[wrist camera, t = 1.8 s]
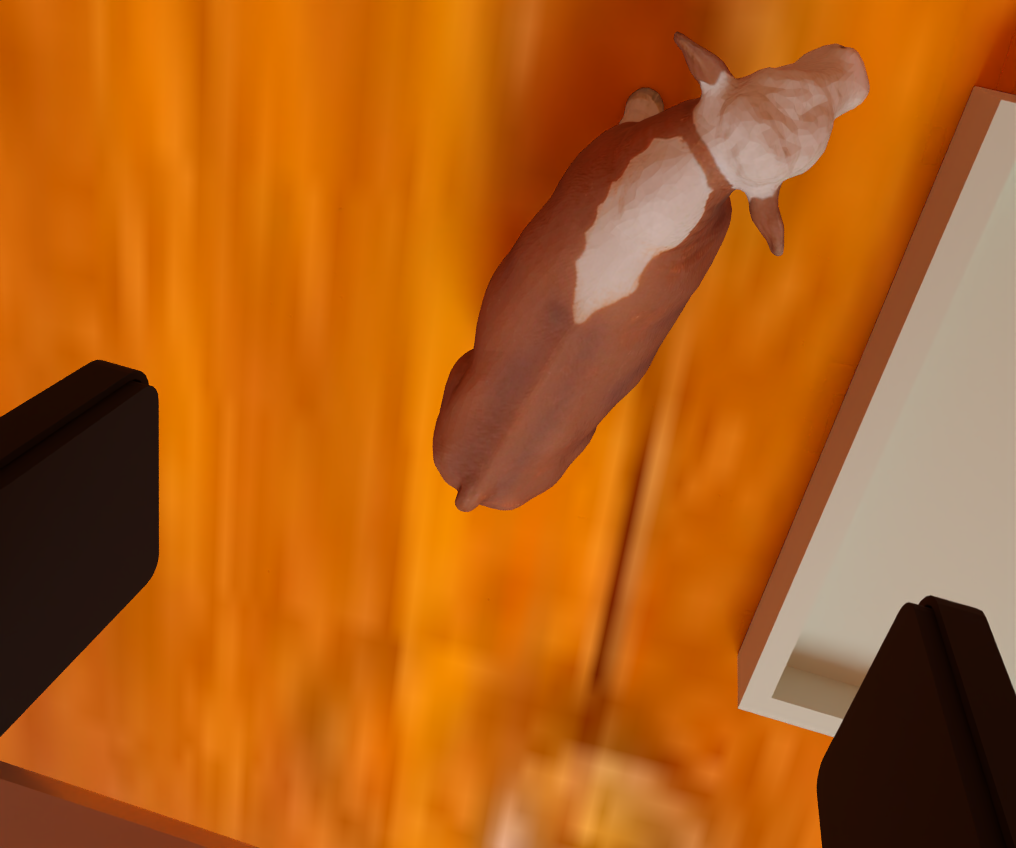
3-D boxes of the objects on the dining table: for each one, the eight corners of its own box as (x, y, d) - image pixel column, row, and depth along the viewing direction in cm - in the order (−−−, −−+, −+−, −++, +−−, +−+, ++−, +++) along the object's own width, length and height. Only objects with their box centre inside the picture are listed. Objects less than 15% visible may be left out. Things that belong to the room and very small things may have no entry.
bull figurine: (867, 61, 22) (932, 110, 15) (552, 436, 28) (492, 594, 21) (726, -52, 21) (722, -59, 14) (438, 355, 28) (339, 488, 21)
